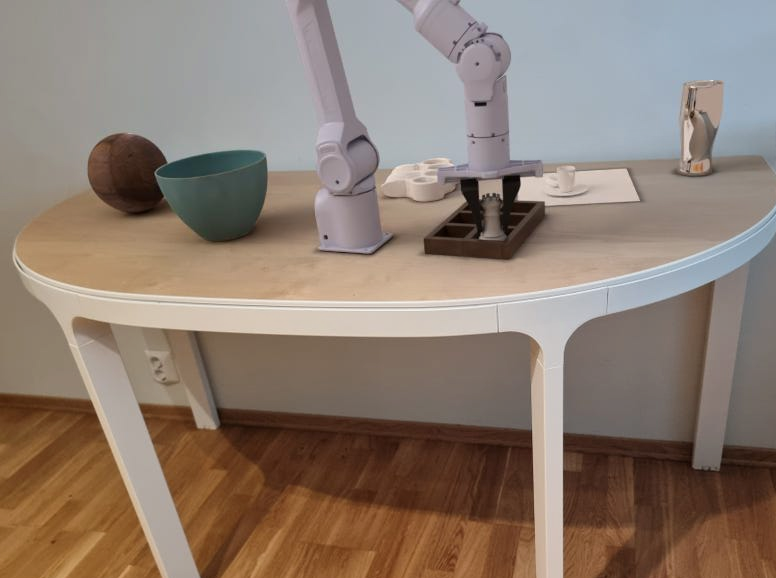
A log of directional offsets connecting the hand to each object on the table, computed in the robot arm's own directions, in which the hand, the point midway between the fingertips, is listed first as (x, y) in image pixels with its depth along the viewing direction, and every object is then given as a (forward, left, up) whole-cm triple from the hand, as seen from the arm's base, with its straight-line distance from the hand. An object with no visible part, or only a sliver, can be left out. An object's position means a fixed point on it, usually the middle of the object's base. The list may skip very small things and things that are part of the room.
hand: (492, 229), depth 101 cm
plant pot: (-48, 0, -3) cm, 49 cm away
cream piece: (+5, +32, -3) cm, 32 cm away
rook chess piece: (0, 0, -3) cm, 3 cm away
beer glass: (+24, +43, -3) cm, 49 cm away
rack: (-3, +6, -3) cm, 7 cm away
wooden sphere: (-77, +9, -3) cm, 78 cm away
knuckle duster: (-23, +29, -3) cm, 37 cm away
